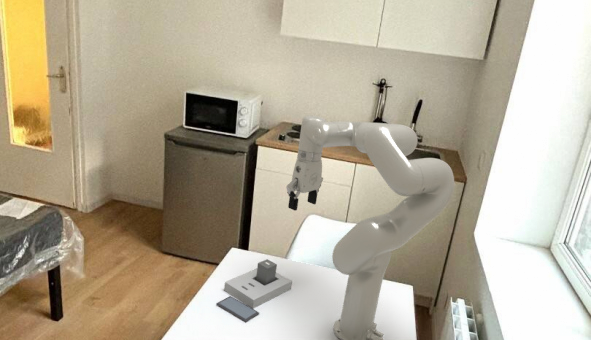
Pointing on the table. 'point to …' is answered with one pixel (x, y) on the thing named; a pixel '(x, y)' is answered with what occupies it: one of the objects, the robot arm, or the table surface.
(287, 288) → the outlet plate
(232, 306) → the phone
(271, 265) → the block
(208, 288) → the table surface
